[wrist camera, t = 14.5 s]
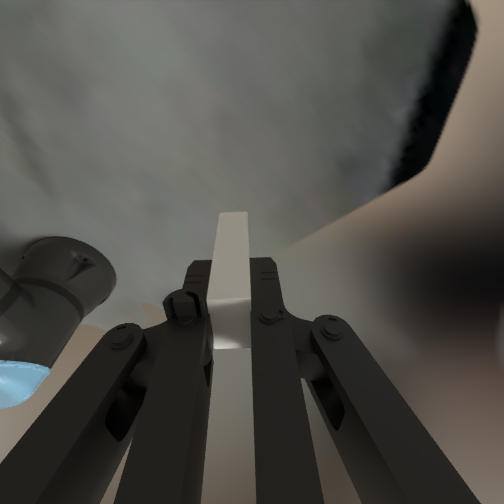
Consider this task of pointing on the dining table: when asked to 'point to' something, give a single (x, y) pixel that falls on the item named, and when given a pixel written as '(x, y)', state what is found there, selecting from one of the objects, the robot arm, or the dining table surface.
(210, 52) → the dining table surface
